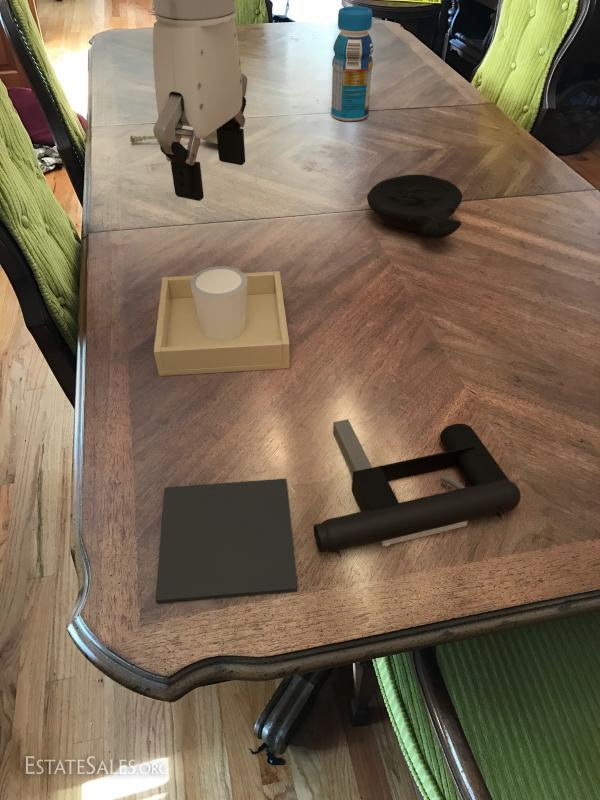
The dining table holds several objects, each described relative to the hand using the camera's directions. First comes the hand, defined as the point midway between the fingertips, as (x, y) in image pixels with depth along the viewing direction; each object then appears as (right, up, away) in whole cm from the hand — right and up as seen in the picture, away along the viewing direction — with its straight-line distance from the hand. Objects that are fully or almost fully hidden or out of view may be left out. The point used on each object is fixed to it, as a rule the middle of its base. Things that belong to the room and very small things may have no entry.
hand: (211, 179), depth 68 cm
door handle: (+20, -33, -7) cm, 39 cm away
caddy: (0, -16, +11) cm, 19 cm away
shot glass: (0, -15, +10) cm, 19 cm away
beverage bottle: (+21, +38, +66) cm, 79 cm away
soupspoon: (-13, +26, +55) cm, 62 cm away
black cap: (+29, +3, +31) cm, 42 cm away
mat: (+3, -37, -12) cm, 39 cm away
